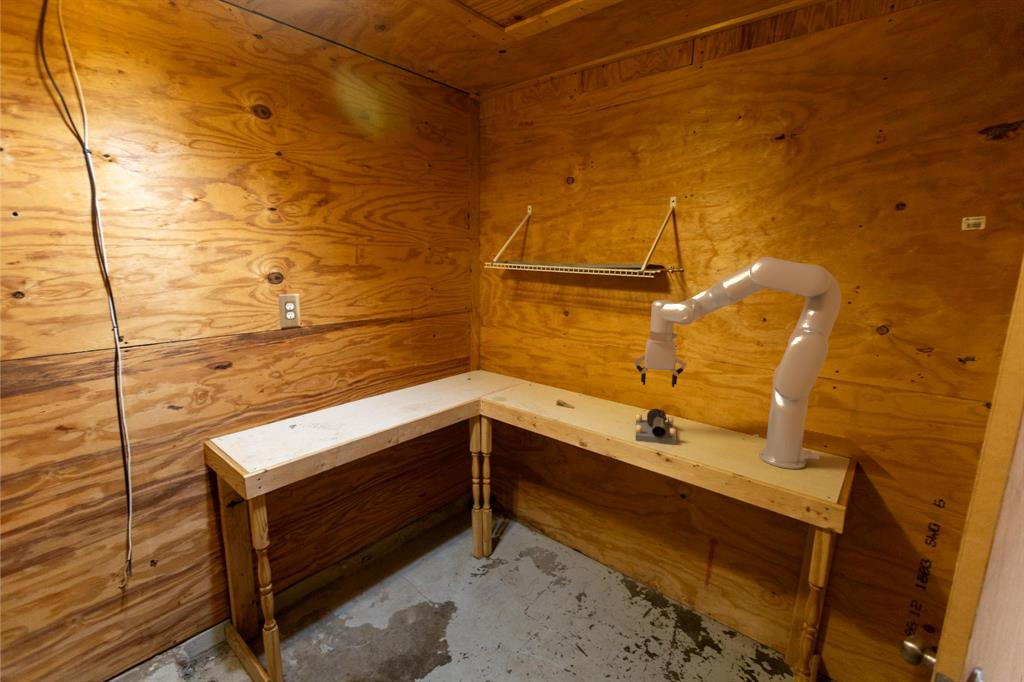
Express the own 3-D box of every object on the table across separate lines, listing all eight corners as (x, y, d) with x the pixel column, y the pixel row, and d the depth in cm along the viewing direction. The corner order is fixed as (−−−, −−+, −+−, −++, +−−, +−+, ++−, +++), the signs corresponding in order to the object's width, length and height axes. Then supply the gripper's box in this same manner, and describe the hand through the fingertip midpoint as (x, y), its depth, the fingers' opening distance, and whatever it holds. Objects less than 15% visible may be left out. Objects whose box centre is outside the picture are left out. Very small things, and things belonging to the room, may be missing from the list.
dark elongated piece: (666, 439, 153) (667, 423, 152) (645, 437, 155) (646, 421, 154) (666, 420, 169) (666, 406, 168) (647, 419, 171) (647, 404, 170)
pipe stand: (672, 427, 168) (673, 415, 167) (675, 444, 153) (676, 432, 152) (635, 424, 172) (636, 412, 171) (635, 440, 156) (636, 428, 156)
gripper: (687, 336, 157) (683, 384, 160) (635, 333, 161) (632, 380, 165) (689, 339, 150) (685, 390, 153) (635, 337, 154) (632, 386, 158)
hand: (658, 385), depth 159 cm, fingers open, 9 cm apart
